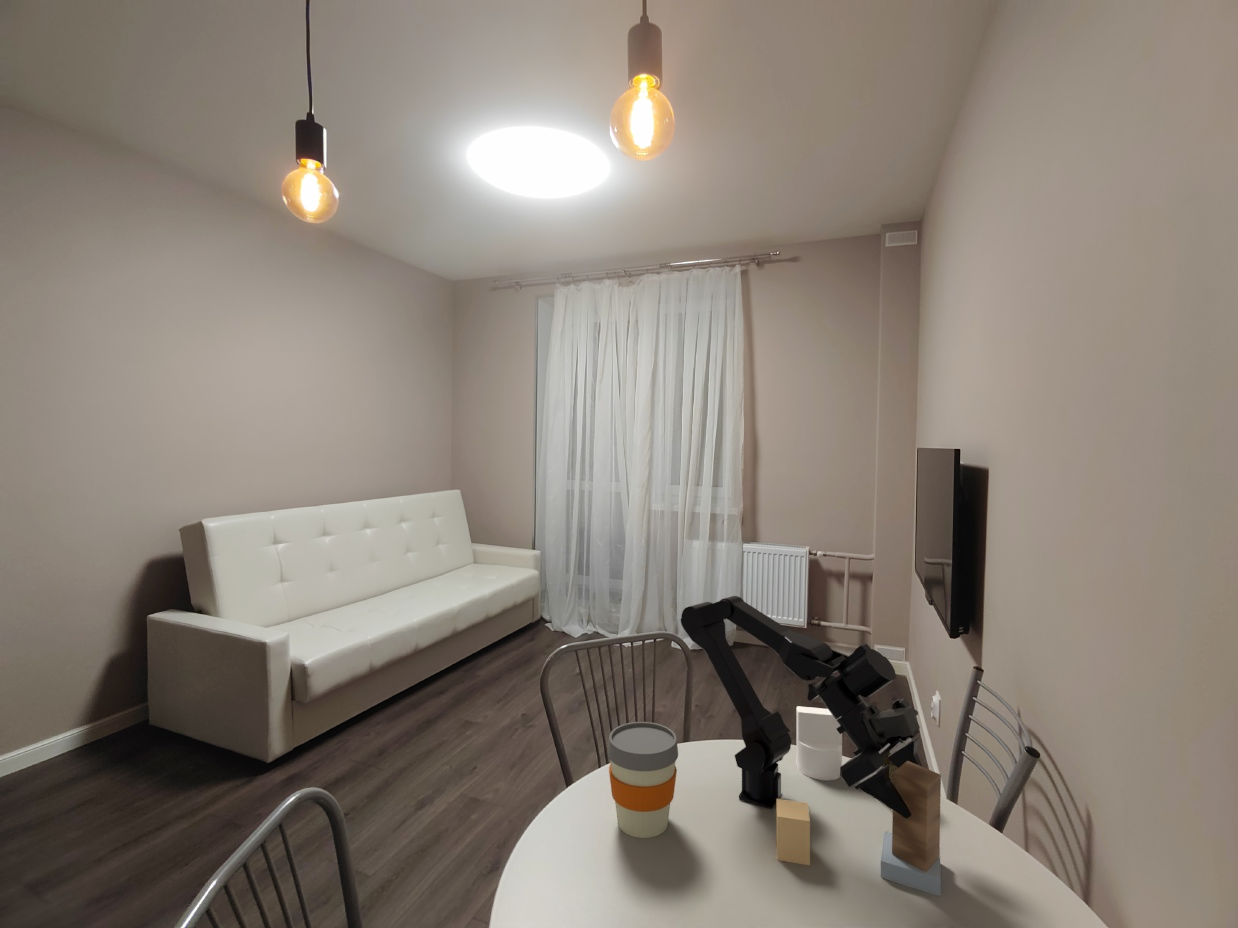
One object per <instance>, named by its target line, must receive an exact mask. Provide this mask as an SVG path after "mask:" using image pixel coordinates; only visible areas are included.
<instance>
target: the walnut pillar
mask: <svg viewBox="0 0 1238 928" xmlns="http://www.w3.org/2000/svg"><path fill="white" fill-rule="evenodd" d="M941 779H942V774H940V773H938V772H936V771H933V770H931V769H929V768H925V767H924V766H923V767H921V766H919V765H916V764H914V763H912V762H909V761H907V762H905V763H904V764H903V765H902V766H900V767H899V768H898V769H897V770H896V771H894V772H893V785H894V786H895V788H896V789H897V791H898V792H899V794H900V796H901V797H902V799H903V800H904V802H905V803H906V805H907V807H908V809H909V810H910V812H911V814H912V815H911V817H909V818H904V817H903V816H901V815H900V814H898V813H897V812H895V811H894V810H892V826H891V827H892V832H891V833H892V854H893V855H895V856H897V857H899V858H900V859H902V860H904V861H906V862H908V863H910V864H911V865H913V866H915V867H917V868H919V869H920V870H922V871H924V872H927V870H928V869H929V868H930V867H931V866H932V865H933V863H934V862H935V861H936V860H937V859H938V858H939V847H940V844H941V843H940V842H941V841H940V840H941V835H940V833H941V831H940V830H941V795H942V794H941V787H942V785H941V782H942V780H941ZM940 848H941V847H940Z"/></svg>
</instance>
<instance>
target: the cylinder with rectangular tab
mask: <svg viewBox="0 0 1238 928" xmlns="http://www.w3.org/2000/svg"><path fill="white" fill-rule="evenodd" d="M841 717H842V716H841ZM839 718H840V717H839ZM839 718H838V719H839ZM836 720H837V719H835V718H834V716H833V715H832V714H831V712H830V711H829V710H828V708H820V707H810V706H809V707H808V706H801V705H800V706H798V705H797V706H796V768H797V770H798V771H799V773H801V774H803V775H804V776H806V777H808V778H811V779H815V780H819V781H835V780H837V779H839V778H840V777H841V776H840V767H841V766H842V765H843V733H842V734H840V733H839V732H838V731H837V728H838V727H839V726H840V725H839V723H838V722H837V721H836Z"/></svg>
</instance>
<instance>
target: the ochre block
mask: <svg viewBox="0 0 1238 928" xmlns="http://www.w3.org/2000/svg"><path fill="white" fill-rule="evenodd" d="M809 811H810V810H809V803H808V802H803V801H795V800H789V799H784V798H783V799H781V798H779V799H777V801H776V860H777V861H782V862H786V863H787V862H788V863H794V864H800V865H805V866H811V821H810V820H811V818H810V812H809Z"/></svg>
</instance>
